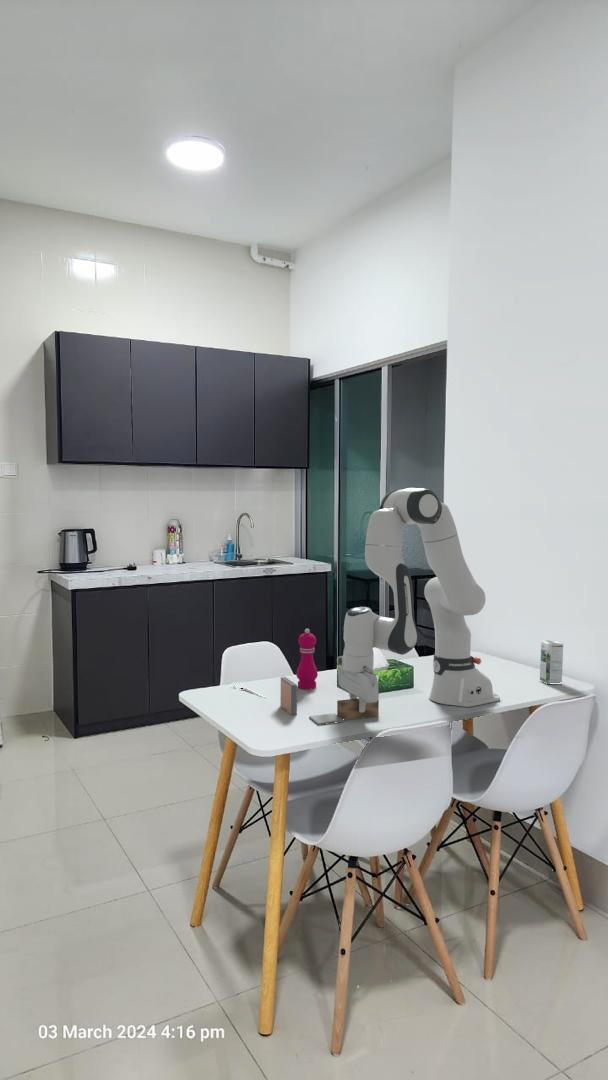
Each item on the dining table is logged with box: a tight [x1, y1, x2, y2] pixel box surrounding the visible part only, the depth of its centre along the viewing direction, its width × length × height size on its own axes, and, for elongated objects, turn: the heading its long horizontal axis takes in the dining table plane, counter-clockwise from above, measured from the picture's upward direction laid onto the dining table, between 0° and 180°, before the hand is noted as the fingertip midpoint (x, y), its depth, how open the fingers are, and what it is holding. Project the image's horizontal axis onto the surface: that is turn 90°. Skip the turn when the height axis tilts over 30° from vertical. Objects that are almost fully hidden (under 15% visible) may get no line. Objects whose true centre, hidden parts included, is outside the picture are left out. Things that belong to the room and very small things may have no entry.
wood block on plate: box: [308, 697, 380, 725], centre depth 214 cm, size 20×7×5 cm, turn 111°
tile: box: [280, 676, 298, 716], centre depth 221 cm, size 2×10×9 cm, turn 21°
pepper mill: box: [296, 628, 319, 690], centre depth 248 cm, size 7×7×20 cm
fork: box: [231, 681, 266, 698], centre depth 241 cm, size 3×20×2 cm, turn 38°
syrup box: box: [539, 639, 564, 684], centre depth 255 cm, size 6×6×14 cm
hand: (357, 709), depth 215 cm, fingers closed on wood block on plate, 3 cm apart
